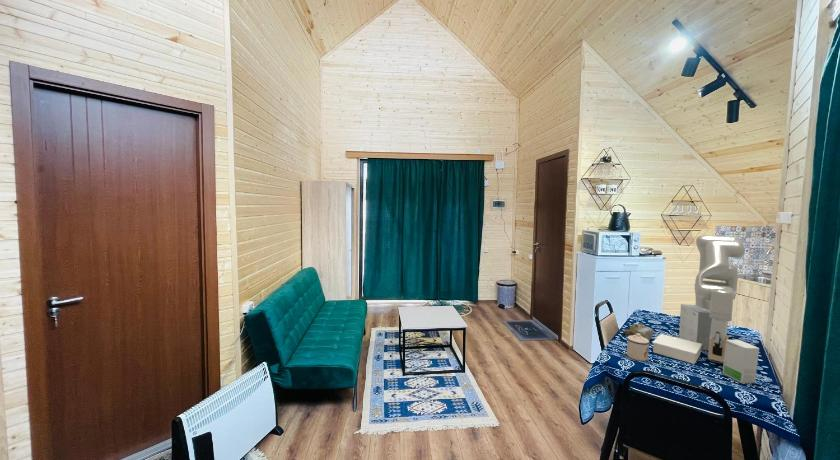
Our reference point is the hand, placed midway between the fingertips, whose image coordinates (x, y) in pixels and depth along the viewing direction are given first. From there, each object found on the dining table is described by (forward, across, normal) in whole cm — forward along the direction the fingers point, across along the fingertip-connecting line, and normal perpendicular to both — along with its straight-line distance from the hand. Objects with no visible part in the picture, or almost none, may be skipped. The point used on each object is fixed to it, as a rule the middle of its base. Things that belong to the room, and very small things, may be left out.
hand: (717, 352), depth 149 cm
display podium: (+5, +2, -15) cm, 16 cm away
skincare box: (+5, +12, +8) cm, 15 cm away
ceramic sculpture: (+6, -8, -34) cm, 35 cm away
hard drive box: (+6, -19, -11) cm, 23 cm away
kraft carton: (+3, 0, 0) cm, 3 cm away
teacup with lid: (+5, +21, -27) cm, 34 cm away
